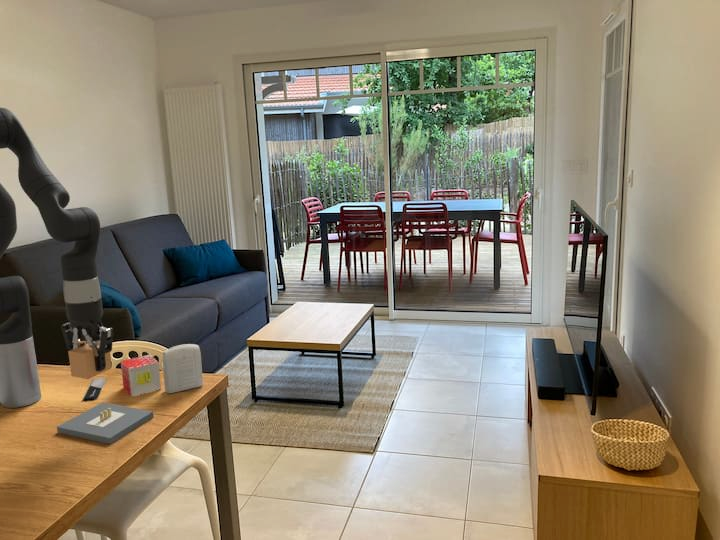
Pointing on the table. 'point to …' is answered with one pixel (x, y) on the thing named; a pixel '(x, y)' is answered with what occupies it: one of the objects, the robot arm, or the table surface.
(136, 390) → the red and white cube
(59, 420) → the table surface
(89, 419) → the board
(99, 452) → the table surface
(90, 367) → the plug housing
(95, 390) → the computer memory module
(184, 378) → the photo printer
